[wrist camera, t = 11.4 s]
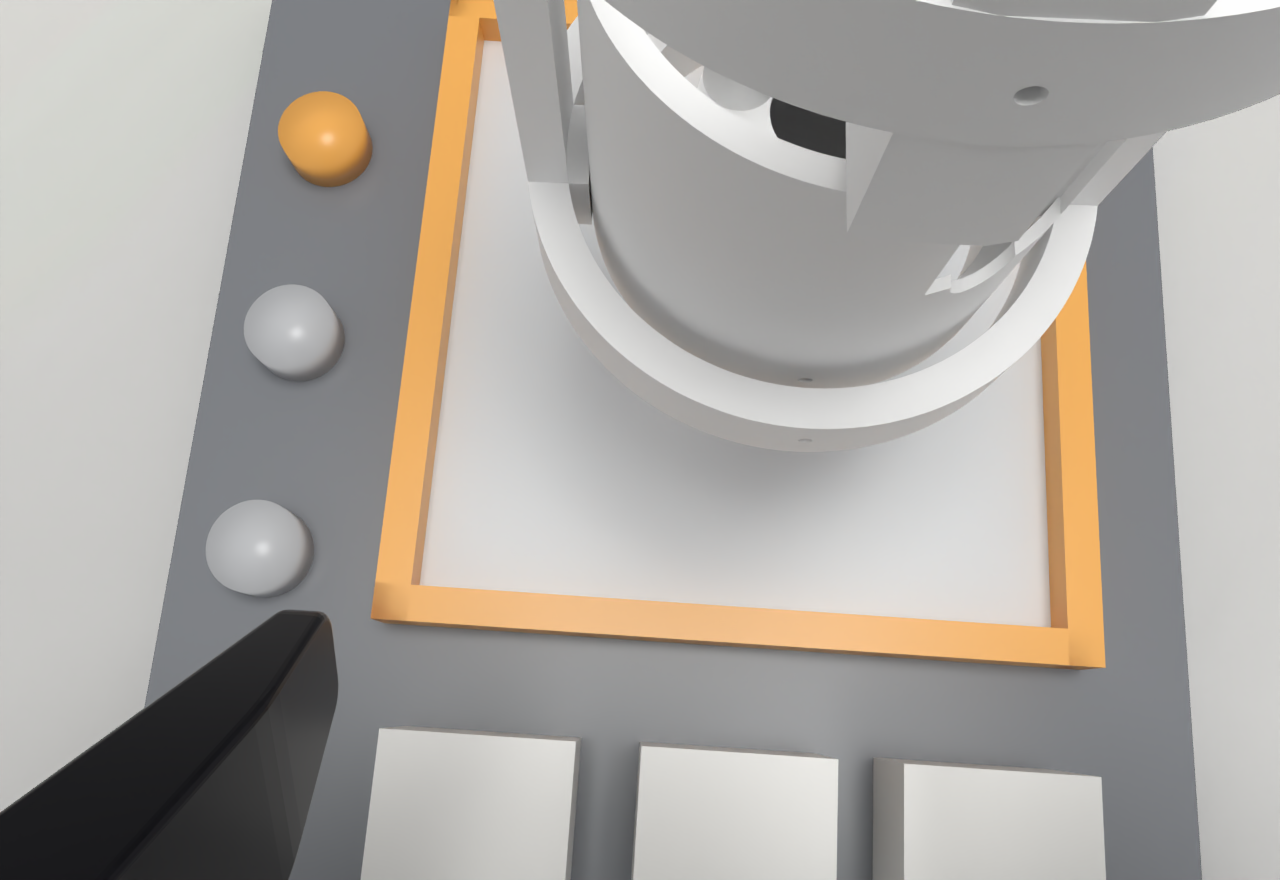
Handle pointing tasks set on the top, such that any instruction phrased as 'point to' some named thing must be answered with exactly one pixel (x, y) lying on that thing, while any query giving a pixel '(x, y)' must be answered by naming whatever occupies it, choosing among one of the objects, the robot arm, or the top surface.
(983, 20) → the white piece
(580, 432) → the panel
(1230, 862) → the top surface
